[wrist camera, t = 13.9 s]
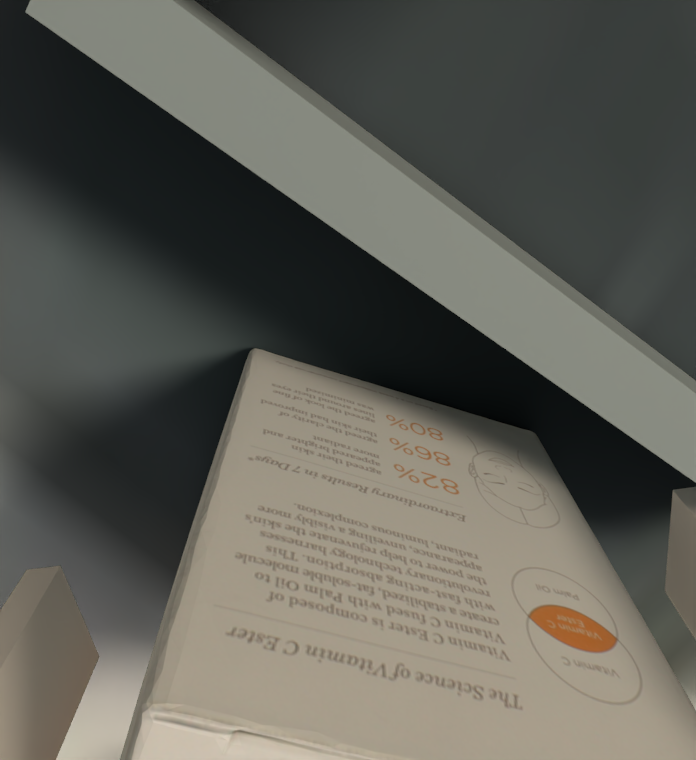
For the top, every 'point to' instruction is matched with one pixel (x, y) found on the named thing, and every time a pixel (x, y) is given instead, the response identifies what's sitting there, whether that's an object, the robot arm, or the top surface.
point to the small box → (395, 595)
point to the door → (383, 207)
